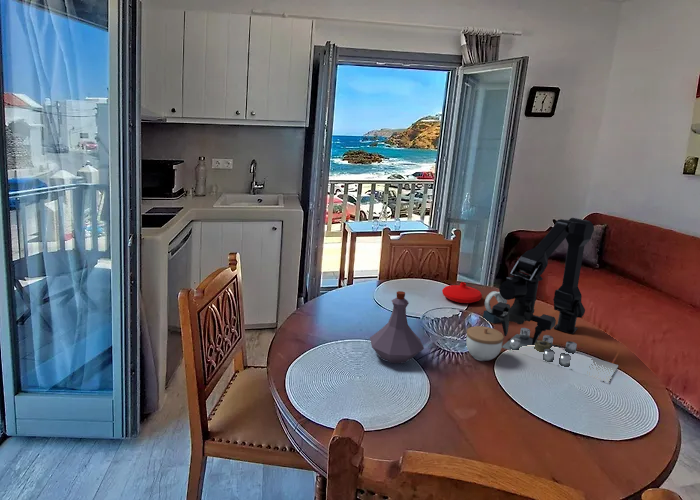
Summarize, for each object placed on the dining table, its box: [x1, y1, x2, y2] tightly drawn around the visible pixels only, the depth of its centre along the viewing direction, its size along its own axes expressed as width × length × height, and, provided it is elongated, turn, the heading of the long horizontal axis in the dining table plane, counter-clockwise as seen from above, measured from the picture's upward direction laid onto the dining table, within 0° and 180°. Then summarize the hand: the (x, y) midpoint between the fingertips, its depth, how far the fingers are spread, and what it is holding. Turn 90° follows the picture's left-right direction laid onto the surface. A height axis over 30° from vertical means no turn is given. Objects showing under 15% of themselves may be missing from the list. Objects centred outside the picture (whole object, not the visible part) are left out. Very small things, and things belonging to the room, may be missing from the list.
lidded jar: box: [465, 325, 505, 362], centre depth 146 cm, size 11×11×9 cm
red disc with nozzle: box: [441, 281, 483, 304], centre depth 195 cm, size 16×16×7 cm
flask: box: [369, 290, 425, 364], centre depth 142 cm, size 16×16×20 cm
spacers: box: [509, 327, 578, 367], centre depth 152 cm, size 14×18×3 cm
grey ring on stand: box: [482, 290, 508, 324], centre depth 174 cm, size 6×8×11 cm
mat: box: [501, 333, 619, 383], centre depth 150 cm, size 14×31×1 cm, turn 52°
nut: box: [534, 339, 551, 352], centre depth 153 cm, size 5×4×3 cm
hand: (519, 340), depth 157 cm, fingers open, 9 cm apart
